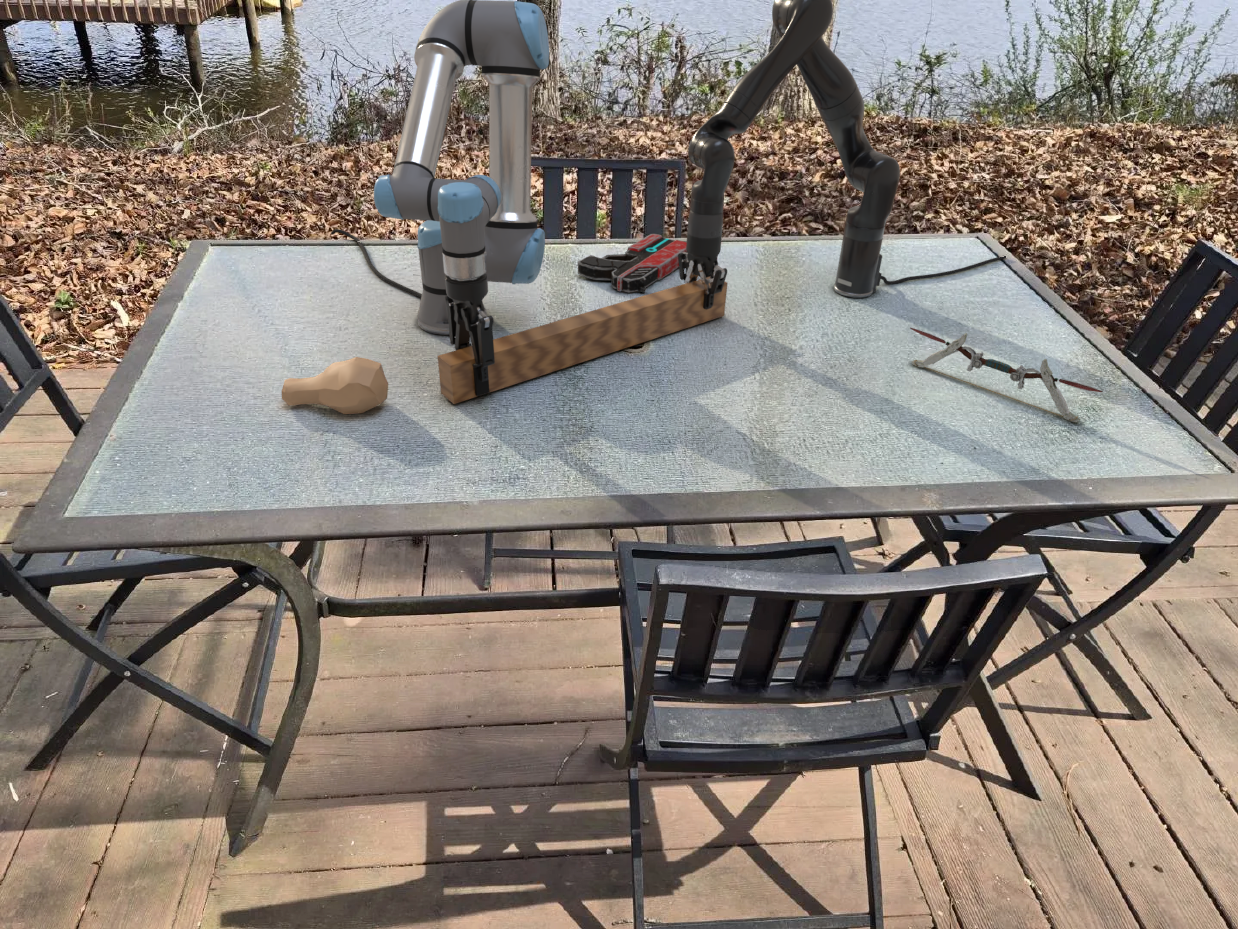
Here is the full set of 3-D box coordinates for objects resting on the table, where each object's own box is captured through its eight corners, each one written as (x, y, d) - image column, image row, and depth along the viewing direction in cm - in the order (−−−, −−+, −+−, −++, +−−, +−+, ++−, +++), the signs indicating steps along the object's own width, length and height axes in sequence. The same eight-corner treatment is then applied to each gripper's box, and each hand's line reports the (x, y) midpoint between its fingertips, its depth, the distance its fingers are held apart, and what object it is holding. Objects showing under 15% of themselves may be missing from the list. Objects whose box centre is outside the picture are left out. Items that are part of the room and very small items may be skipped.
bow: (1091, 425, 165) (1109, 378, 160) (1088, 428, 164) (1106, 381, 159) (904, 358, 187) (914, 315, 181) (900, 361, 186) (910, 317, 180)
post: (453, 404, 165) (450, 365, 161) (440, 393, 168) (437, 355, 164) (724, 315, 202) (727, 282, 198) (709, 308, 205) (712, 275, 201)
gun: (571, 262, 216) (639, 281, 209) (634, 226, 238) (698, 242, 231) (571, 279, 219) (638, 298, 211) (633, 242, 241) (696, 258, 233)
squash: (388, 420, 161) (373, 382, 155) (283, 428, 163) (264, 391, 156) (399, 383, 169) (385, 345, 163) (299, 392, 170) (282, 354, 164)
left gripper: (510, 285, 153) (516, 400, 166) (459, 253, 164) (468, 364, 177) (473, 295, 149) (482, 412, 162) (423, 262, 160) (434, 374, 174)
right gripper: (740, 236, 187) (732, 310, 196) (695, 218, 196) (690, 290, 205) (714, 243, 183) (708, 319, 192) (669, 224, 192) (665, 297, 201)
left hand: (474, 387), depth 170 cm, fingers closed on post, 5 cm apart
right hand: (698, 303), depth 199 cm, fingers closed on post, 5 cm apart
